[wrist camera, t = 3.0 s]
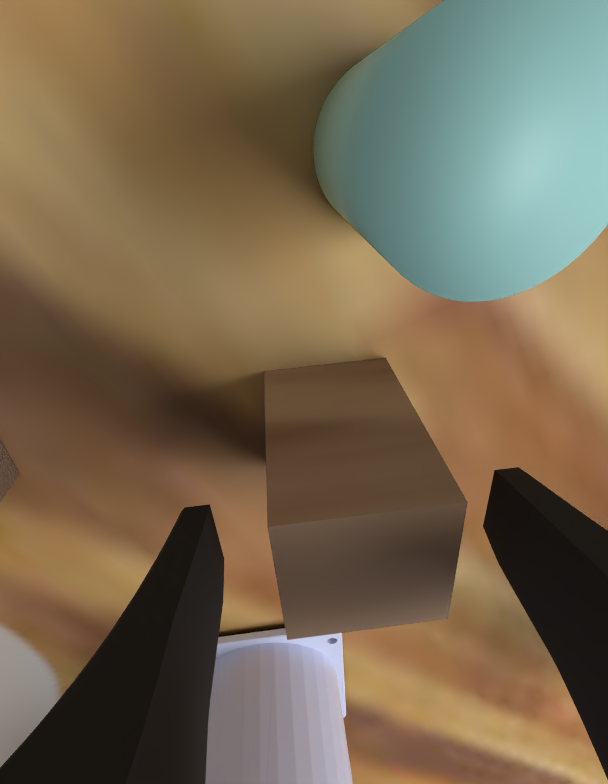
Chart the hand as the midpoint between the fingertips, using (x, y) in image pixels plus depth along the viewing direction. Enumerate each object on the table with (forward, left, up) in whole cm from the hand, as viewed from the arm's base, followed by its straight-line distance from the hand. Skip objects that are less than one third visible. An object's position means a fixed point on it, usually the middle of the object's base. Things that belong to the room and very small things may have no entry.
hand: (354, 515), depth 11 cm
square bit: (0, 0, -5) cm, 5 cm away
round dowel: (+8, -2, -5) cm, 9 cm away
